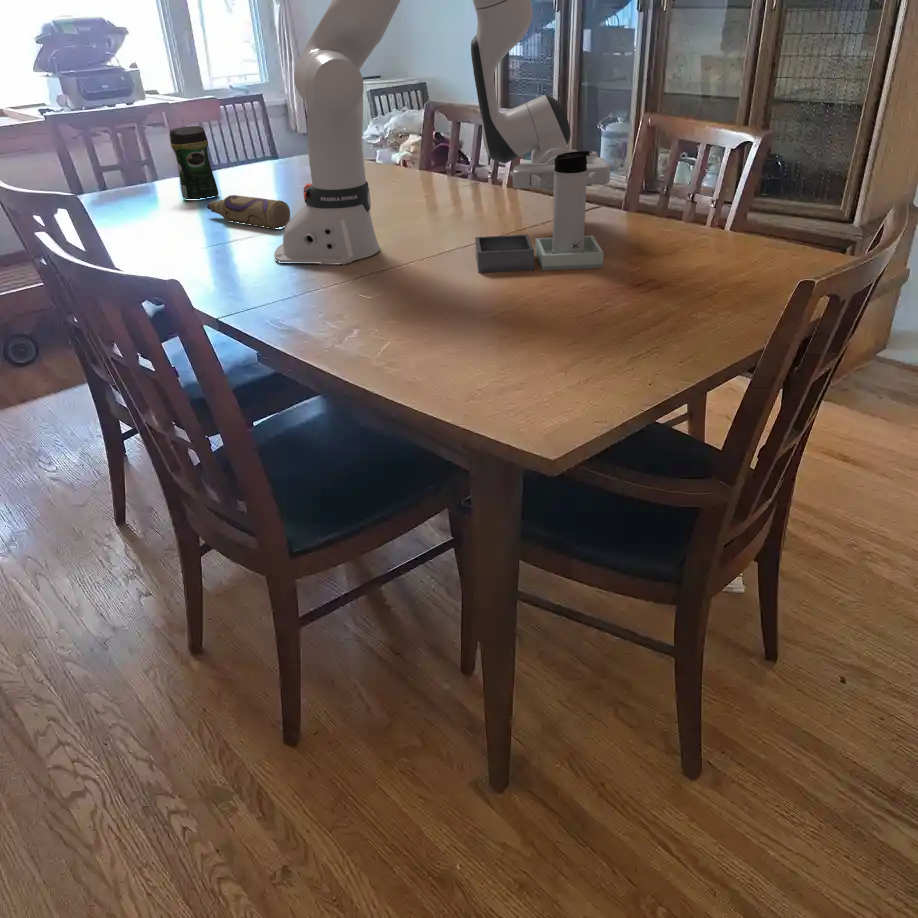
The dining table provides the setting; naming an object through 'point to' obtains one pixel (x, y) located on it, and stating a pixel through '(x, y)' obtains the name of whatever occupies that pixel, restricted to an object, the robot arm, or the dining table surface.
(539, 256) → the tray
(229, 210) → the decorative bottle
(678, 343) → the dining table surface
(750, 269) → the dining table surface
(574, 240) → the travel mug
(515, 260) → the collar
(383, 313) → the dining table surface
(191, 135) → the coffee jar
